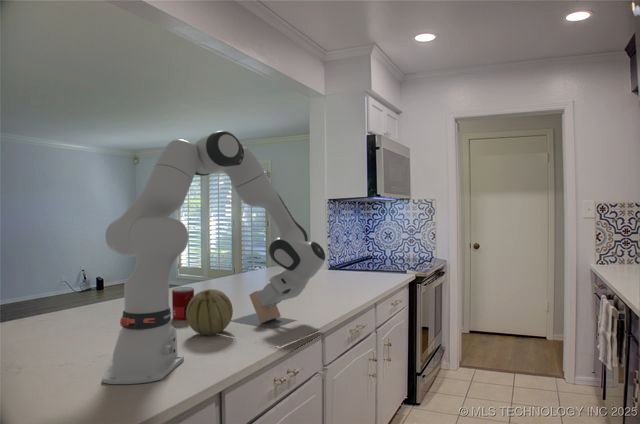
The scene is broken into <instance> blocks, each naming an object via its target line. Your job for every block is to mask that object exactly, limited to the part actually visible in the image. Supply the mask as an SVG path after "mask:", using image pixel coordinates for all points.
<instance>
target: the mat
mask: <svg viewBox="0 0 640 424" xmlns="http://www.w3.org/2000/svg"><path fill="white" fill-rule="evenodd" d="M296 321H297V320H296V319H291V318H287V317H282V316H280V317H278V318H277V319H274V320H271V321H268V322H265V323H262V324H261V323H260V321H259V318H258V316H257V313H256V312H254V313H251V314H247V315H245V316H242V317H238V318H234V319H231V321H230V323H238V324H243V325H246V326H247V325H249V326H253V327H258V328H263V329H270V330H274V329H276V328H279V327H282V326H285V325H287V324H290V323H294V322H296Z"/></svg>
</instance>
